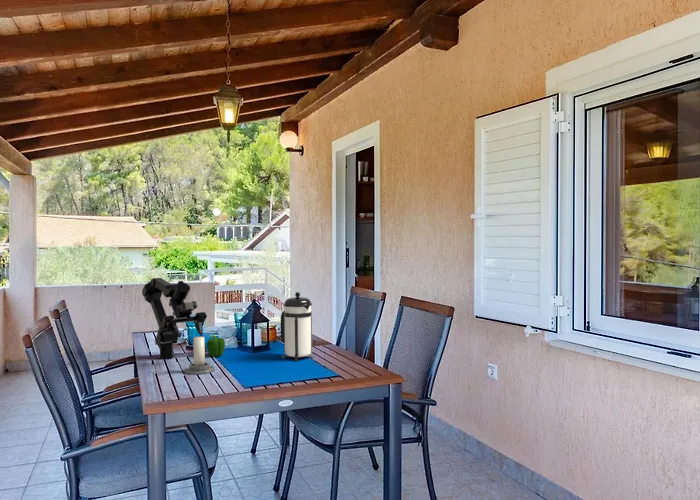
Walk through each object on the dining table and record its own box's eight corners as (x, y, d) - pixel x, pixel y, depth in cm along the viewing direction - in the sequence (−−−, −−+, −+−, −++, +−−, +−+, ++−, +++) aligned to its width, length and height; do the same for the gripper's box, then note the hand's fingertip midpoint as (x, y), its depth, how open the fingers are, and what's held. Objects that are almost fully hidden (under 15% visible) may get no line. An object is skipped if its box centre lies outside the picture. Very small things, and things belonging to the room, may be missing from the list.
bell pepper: (221, 353, 253) (221, 332, 252) (227, 356, 246) (227, 334, 246) (204, 355, 248) (203, 334, 248) (209, 358, 241) (209, 336, 241)
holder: (189, 367, 225) (189, 361, 225) (217, 367, 225) (217, 361, 225) (180, 374, 213) (180, 368, 213) (209, 374, 213) (209, 368, 213)
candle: (198, 367, 222) (198, 336, 221) (207, 368, 220) (206, 337, 220) (191, 369, 218) (191, 338, 217) (200, 370, 216) (199, 338, 216)
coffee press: (317, 353, 249) (316, 290, 249) (311, 361, 233) (311, 293, 233) (281, 353, 251) (280, 290, 250) (273, 361, 235) (272, 293, 234)
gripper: (163, 297, 222) (174, 326, 214) (204, 293, 234) (217, 321, 226) (156, 313, 228) (167, 343, 220) (196, 309, 240) (208, 337, 232)
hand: (190, 335), depth 224 cm, fingers open, 9 cm apart
